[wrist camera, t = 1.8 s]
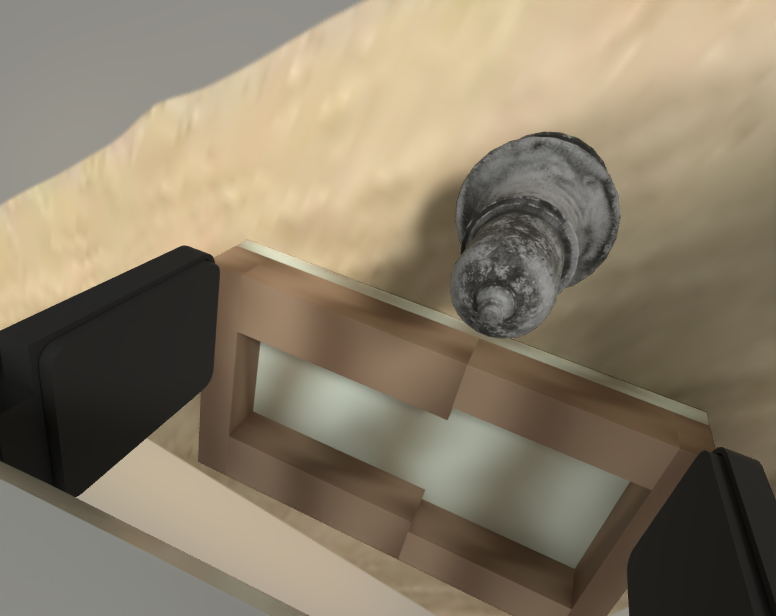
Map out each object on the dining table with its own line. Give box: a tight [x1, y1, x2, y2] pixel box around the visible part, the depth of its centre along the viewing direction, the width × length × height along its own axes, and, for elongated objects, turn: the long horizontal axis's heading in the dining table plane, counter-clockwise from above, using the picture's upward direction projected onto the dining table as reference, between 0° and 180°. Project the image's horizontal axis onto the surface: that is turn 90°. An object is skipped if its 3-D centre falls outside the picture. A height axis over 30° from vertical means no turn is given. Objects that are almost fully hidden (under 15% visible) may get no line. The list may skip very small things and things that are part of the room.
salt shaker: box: [450, 132, 620, 339], centre depth 18 cm, size 6×6×12 cm
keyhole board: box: [198, 240, 715, 616], centre depth 29 cm, size 24×14×4 cm, turn 77°
